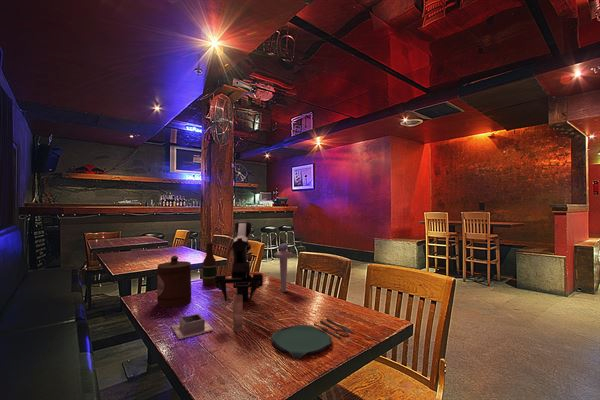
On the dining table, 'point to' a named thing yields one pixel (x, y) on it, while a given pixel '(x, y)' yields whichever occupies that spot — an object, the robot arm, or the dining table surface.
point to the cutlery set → (305, 338)
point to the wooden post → (237, 312)
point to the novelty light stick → (283, 264)
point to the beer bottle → (209, 267)
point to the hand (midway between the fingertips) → (238, 300)
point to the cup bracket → (191, 326)
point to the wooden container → (174, 283)
